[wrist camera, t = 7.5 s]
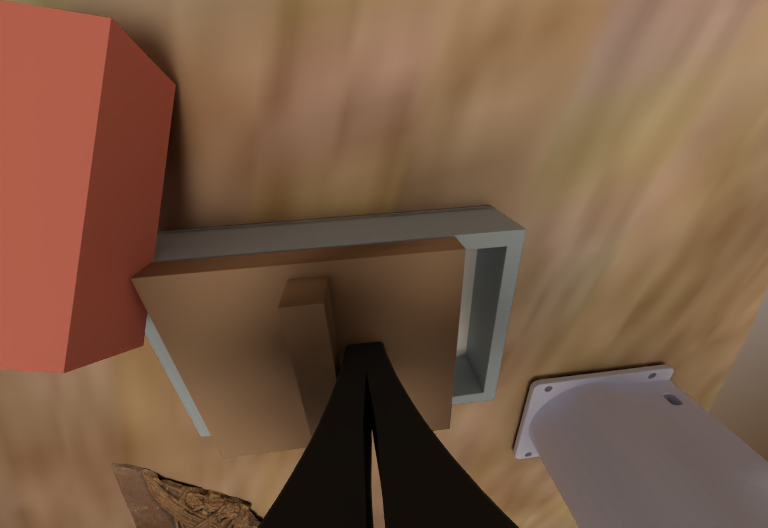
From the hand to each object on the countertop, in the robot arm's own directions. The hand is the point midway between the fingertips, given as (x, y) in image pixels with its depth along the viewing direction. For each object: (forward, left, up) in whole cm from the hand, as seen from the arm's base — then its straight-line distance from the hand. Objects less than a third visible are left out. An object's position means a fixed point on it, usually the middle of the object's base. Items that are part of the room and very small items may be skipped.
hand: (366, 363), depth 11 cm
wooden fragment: (+14, +24, -5) cm, 28 cm away
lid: (+2, 0, -1) cm, 2 cm away
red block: (+8, -6, -2) cm, 10 cm away
